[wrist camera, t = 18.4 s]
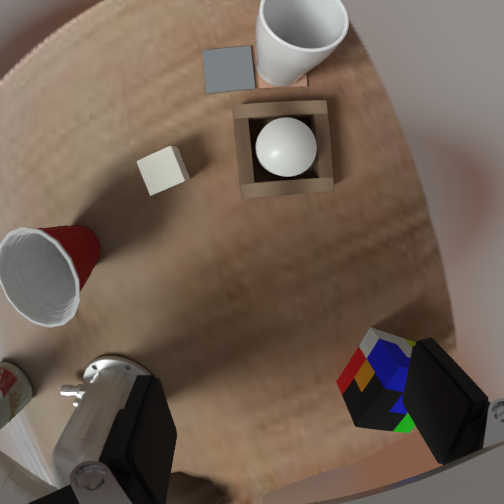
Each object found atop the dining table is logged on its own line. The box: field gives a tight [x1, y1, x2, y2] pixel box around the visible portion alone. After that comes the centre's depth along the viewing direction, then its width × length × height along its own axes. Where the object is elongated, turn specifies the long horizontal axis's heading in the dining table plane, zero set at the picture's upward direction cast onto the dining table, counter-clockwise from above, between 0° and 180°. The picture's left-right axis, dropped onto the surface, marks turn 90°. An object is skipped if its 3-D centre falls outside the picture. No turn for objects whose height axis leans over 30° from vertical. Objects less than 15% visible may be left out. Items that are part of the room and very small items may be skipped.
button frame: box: [232, 100, 334, 199], centre depth 34 cm, size 10×10×3 cm
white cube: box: [137, 146, 190, 196], centre depth 34 cm, size 4×4×4 cm
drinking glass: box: [255, 0, 349, 87], centre depth 25 cm, size 7×7×15 cm
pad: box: [255, 46, 307, 89], centre depth 33 cm, size 6×6×1 cm
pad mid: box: [203, 46, 255, 94], centre depth 32 cm, size 6×6×1 cm
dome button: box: [255, 118, 317, 177], centre depth 33 cm, size 6×6×4 cm
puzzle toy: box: [336, 327, 416, 433], centre depth 39 cm, size 10×10×10 cm
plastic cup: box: [0, 225, 100, 327], centre depth 32 cm, size 11×11×12 cm
